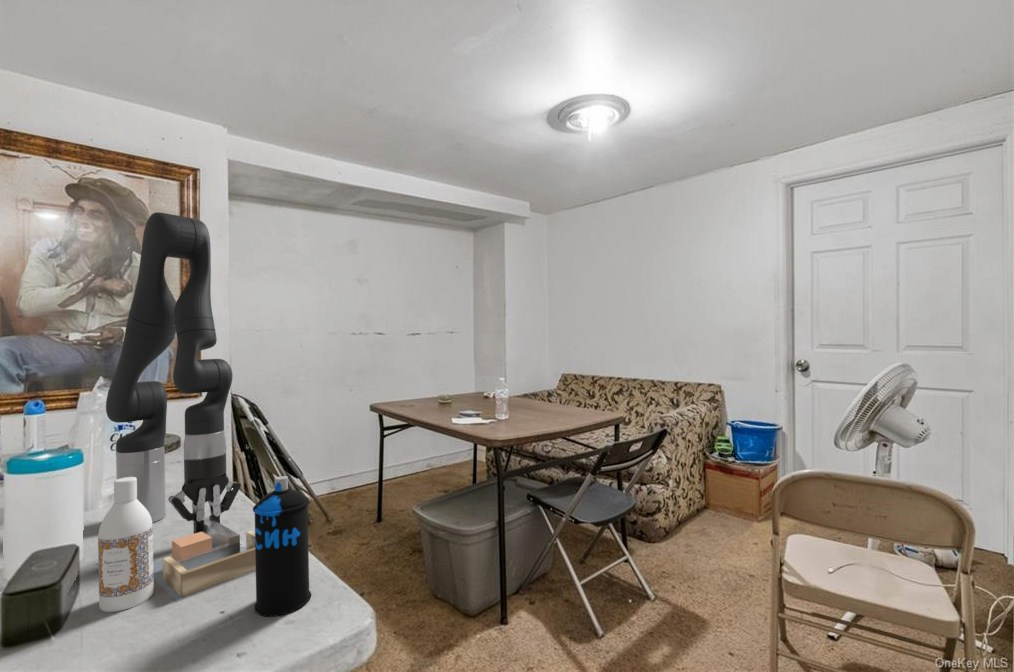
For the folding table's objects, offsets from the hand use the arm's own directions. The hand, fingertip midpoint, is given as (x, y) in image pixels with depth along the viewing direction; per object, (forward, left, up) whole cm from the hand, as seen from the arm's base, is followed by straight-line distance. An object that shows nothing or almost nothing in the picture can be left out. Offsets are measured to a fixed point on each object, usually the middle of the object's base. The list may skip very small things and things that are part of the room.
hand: (207, 535), depth 99 cm
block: (+10, -6, -1) cm, 12 cm away
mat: (+12, -4, -2) cm, 13 cm away
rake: (+6, -4, -1) cm, 7 cm away
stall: (+16, -4, -2) cm, 17 cm away
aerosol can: (+36, -2, -2) cm, 36 cm away
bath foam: (+15, -17, -2) cm, 23 cm away
